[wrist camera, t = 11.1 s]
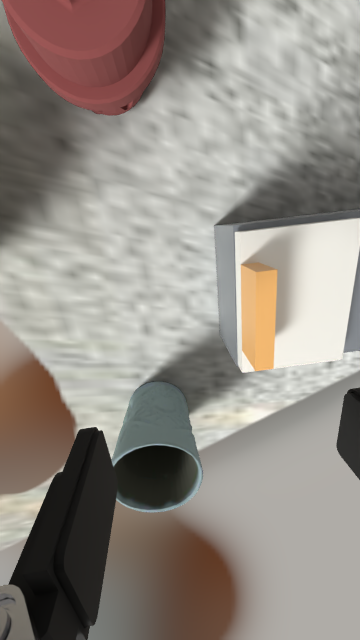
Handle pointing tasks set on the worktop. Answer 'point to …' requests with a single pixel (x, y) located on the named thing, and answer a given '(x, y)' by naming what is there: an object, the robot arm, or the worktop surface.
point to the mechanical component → (91, 47)
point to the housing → (356, 335)
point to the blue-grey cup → (156, 451)
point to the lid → (294, 292)
